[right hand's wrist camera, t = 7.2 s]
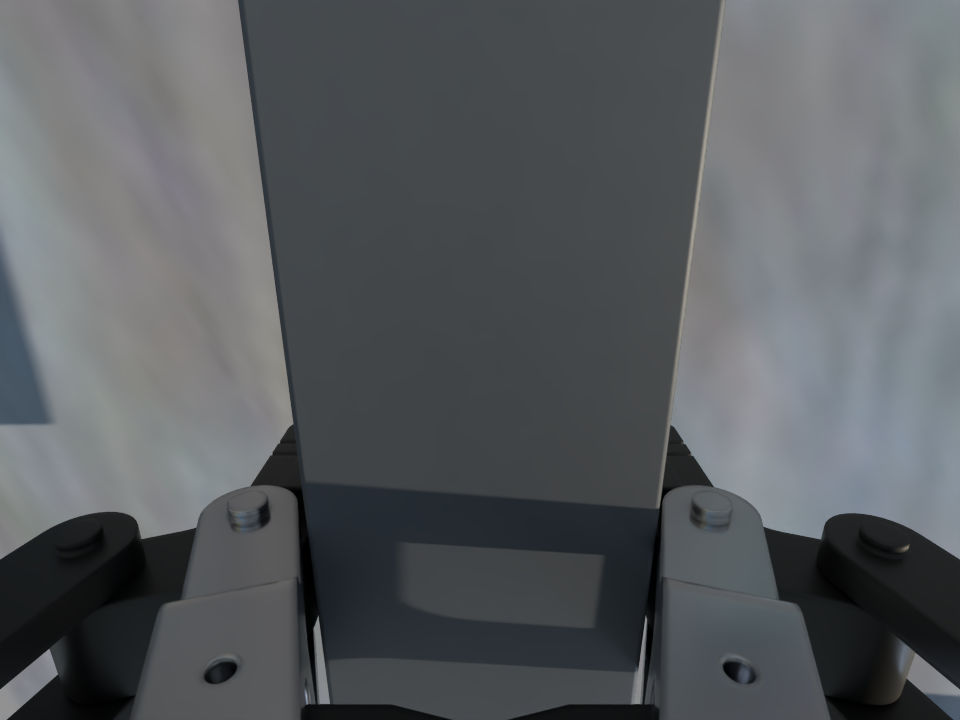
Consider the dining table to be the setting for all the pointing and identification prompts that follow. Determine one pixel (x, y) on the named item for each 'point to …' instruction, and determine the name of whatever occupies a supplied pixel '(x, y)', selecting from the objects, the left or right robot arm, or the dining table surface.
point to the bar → (482, 327)
